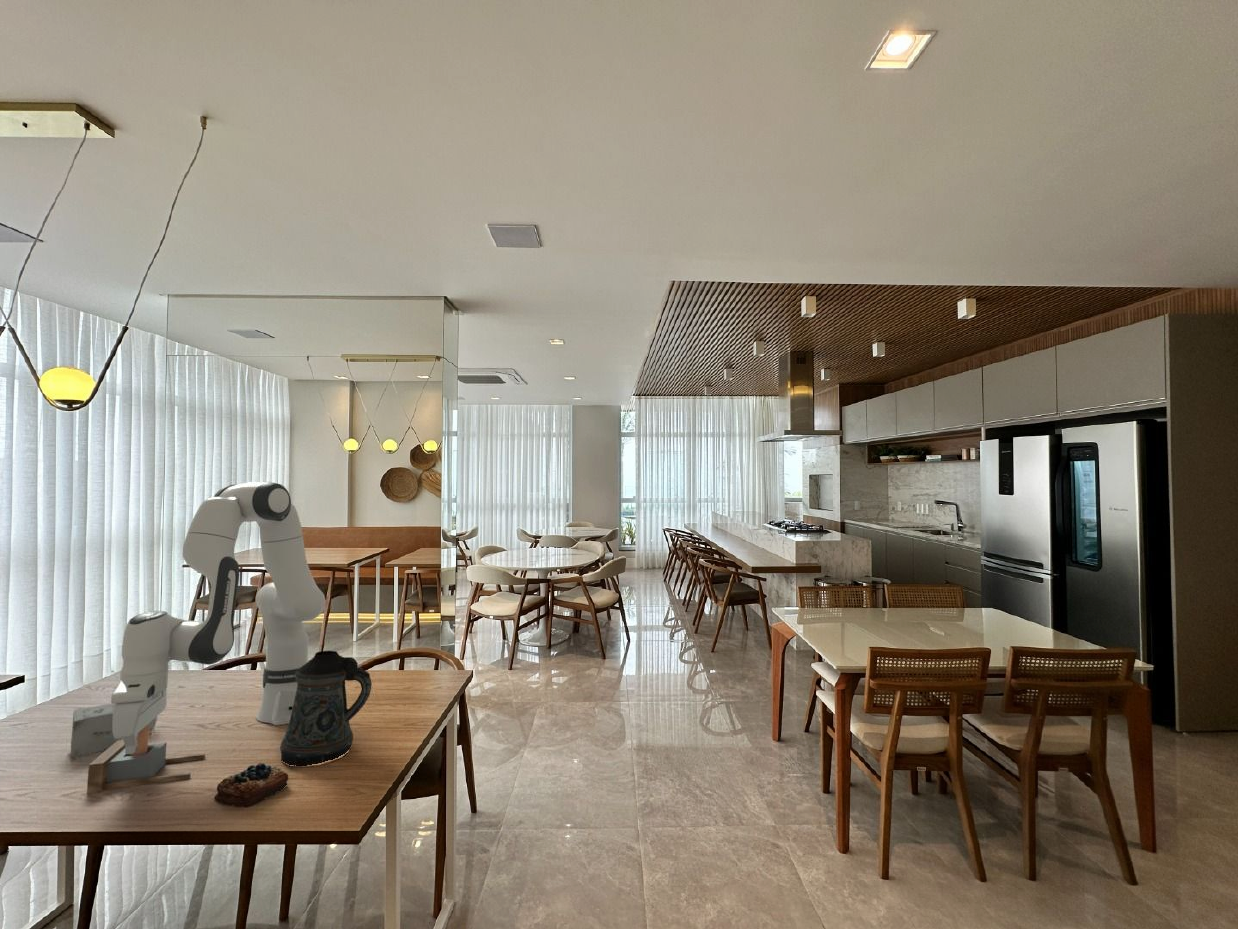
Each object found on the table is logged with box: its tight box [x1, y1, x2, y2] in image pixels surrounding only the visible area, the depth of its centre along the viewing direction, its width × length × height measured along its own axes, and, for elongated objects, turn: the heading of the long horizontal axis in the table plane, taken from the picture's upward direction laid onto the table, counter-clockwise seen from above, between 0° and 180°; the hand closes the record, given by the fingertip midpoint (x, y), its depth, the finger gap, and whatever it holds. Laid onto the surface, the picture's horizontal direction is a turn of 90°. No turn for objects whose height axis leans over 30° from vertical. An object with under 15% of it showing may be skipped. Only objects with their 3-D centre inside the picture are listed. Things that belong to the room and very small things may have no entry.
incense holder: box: [69, 703, 123, 759], centre depth 149 cm, size 10×8×10 cm
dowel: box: [131, 724, 149, 756], centre depth 136 cm, size 3×3×12 cm
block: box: [107, 741, 167, 783], centre depth 136 cm, size 8×9×5 cm
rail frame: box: [86, 739, 206, 794], centre depth 136 cm, size 18×14×6 cm
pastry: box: [214, 762, 289, 808], centre depth 128 cm, size 11×12×6 cm
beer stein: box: [279, 650, 372, 766], centre depth 150 cm, size 16×19×25 cm
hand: (140, 744), depth 136 cm, fingers open, 8 cm apart
